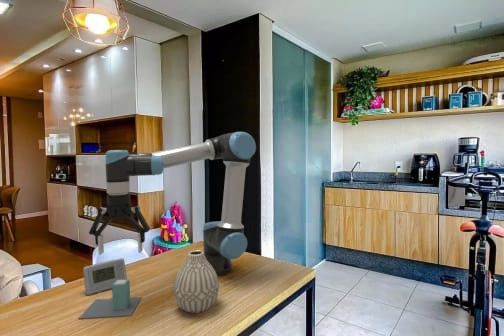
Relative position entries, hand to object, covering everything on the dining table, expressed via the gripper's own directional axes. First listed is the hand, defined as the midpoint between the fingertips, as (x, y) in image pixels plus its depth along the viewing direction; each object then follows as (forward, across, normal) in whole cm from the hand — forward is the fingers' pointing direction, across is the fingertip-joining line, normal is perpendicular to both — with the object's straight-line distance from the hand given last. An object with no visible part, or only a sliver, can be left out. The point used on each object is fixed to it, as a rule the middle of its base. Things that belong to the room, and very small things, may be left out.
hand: (120, 252), depth 107 cm
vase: (+20, -27, +3) cm, 34 cm away
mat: (+20, +4, 0) cm, 20 cm away
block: (+20, 0, 0) cm, 20 cm away
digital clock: (+20, +12, -17) cm, 29 cm away
